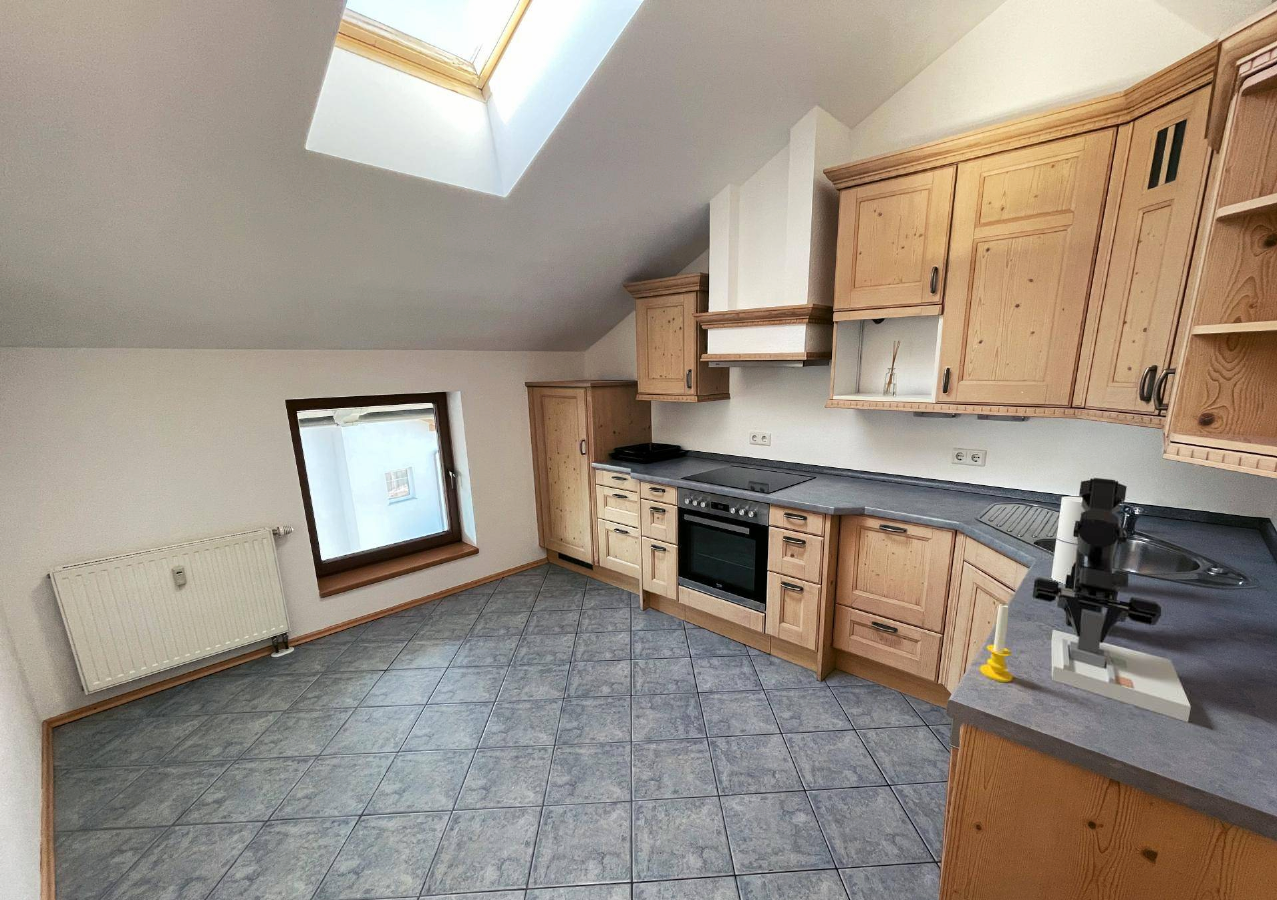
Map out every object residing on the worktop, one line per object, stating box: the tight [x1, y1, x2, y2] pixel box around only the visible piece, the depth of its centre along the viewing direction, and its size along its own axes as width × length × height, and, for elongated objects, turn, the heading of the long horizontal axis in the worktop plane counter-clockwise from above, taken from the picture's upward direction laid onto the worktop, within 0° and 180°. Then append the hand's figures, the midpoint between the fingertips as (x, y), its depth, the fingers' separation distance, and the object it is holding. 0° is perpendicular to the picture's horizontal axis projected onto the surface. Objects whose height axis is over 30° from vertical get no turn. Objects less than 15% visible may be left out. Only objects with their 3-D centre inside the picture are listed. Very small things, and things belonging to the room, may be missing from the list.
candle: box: [979, 604, 1013, 683], centre depth 95 cm, size 5×5×16 cm
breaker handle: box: [1069, 609, 1105, 668], centre depth 95 cm, size 4×5×10 cm
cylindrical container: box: [1051, 496, 1085, 585], centre depth 137 cm, size 7×7×25 cm
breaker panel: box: [1050, 629, 1191, 723], centre depth 94 cm, size 18×18×4 cm
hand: (1089, 639), depth 94 cm, fingers closed on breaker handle, 3 cm apart
